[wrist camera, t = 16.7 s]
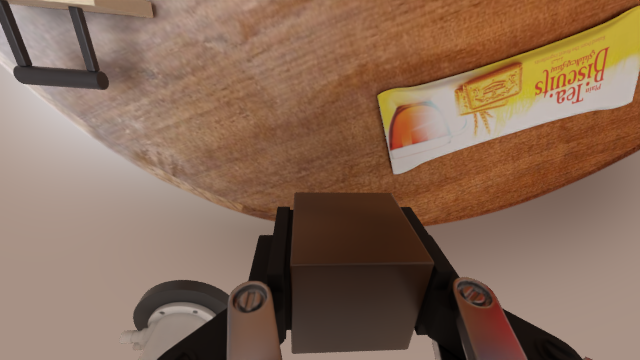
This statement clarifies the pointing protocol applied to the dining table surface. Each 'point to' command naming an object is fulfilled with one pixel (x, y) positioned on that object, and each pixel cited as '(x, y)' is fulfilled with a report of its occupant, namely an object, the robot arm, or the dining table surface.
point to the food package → (514, 93)
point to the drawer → (121, 3)
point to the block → (354, 273)
